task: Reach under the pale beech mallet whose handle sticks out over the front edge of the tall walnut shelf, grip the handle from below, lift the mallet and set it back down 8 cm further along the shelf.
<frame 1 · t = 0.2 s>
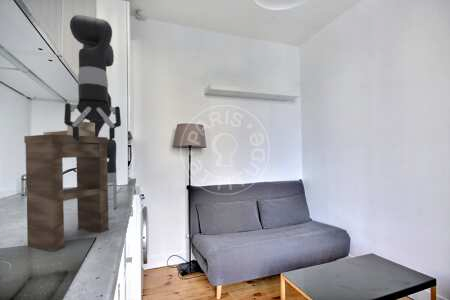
hand: (94, 140, 66), 30 cm above the countertop, tool pointing down, fingers open, 8 cm apart
syrup box: (103, 219, 90), on the countertop
shelf: (71, 237, 71), on the countertop
mallet: (81, 137, 75), point 32 cm above the countertop, touching shelf
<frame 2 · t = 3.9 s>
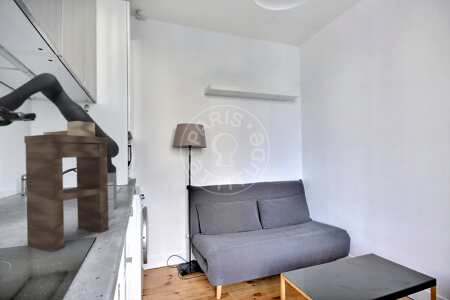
hand: (21, 114, 84), 42 cm above the countertop, tool horizontal, fingers open, 8 cm apart
nothing on the countertop moved.
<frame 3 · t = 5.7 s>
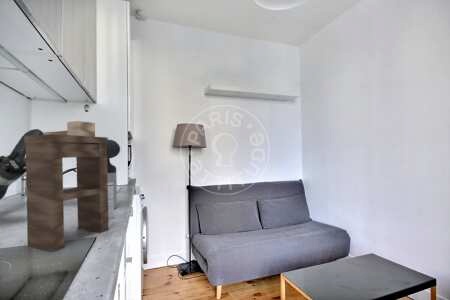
hand: (32, 152, 84), 28 cm above the countertop, tool pointing upward, fingers open, 8 cm apart
nothing on the countertop moved.
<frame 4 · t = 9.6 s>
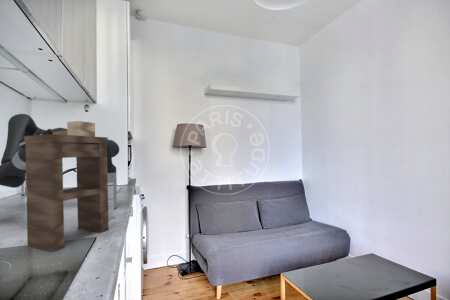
hand: (55, 131, 79), 35 cm above the countertop, tool pointing upward, fingers closed on mallet, 2 cm apart
mallet: (81, 137, 75), point 32 cm above the countertop, touching gripper, shelf
everything else where it was.
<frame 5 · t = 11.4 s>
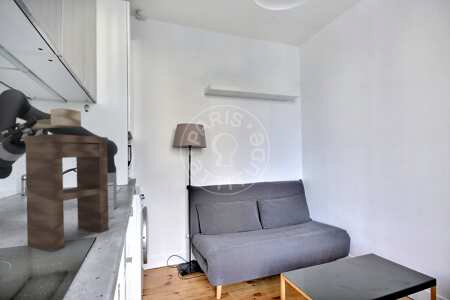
hand: (40, 119, 75), 38 cm above the countertop, tool pointing upward, fingers closed on mallet, 2 cm apart
mallet: (66, 126, 71), point 35 cm above the countertop, touching gripper
everything else where it was.
when the fingers open (36 cm above the countertop, at t = 13.2 s): mallet stays where it is, resting on shelf.
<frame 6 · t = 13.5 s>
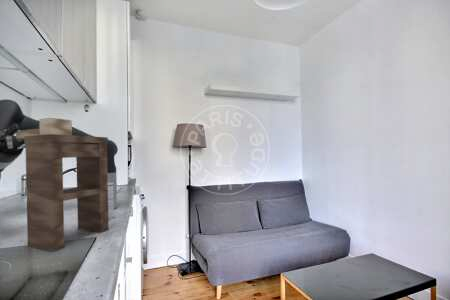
hand: (28, 127, 72), 35 cm above the countertop, tool pointing upward, fingers open, 5 cm apart
mallet: (56, 136, 67), point 32 cm above the countertop, touching shelf
everything else where it was.
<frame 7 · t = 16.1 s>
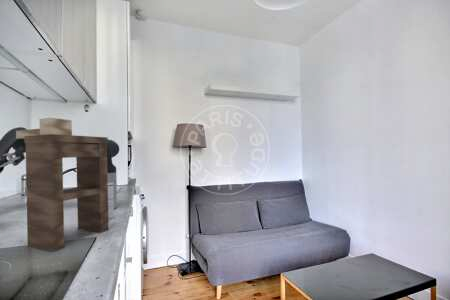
hand: (7, 148, 76), 29 cm above the countertop, tool pointing upward, fingers open, 8 cm apart
nothing on the countertop moved.
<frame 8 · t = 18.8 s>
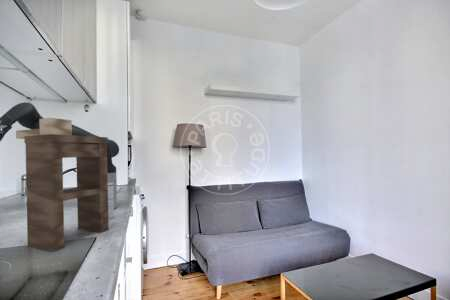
nothing on the countertop moved.
at the end: mallet inside the target area (0.4 cm from its centre), point 32.0 cm above the countertop; mallet moved 8.0 cm from its start; the gripper is holding nothing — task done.
